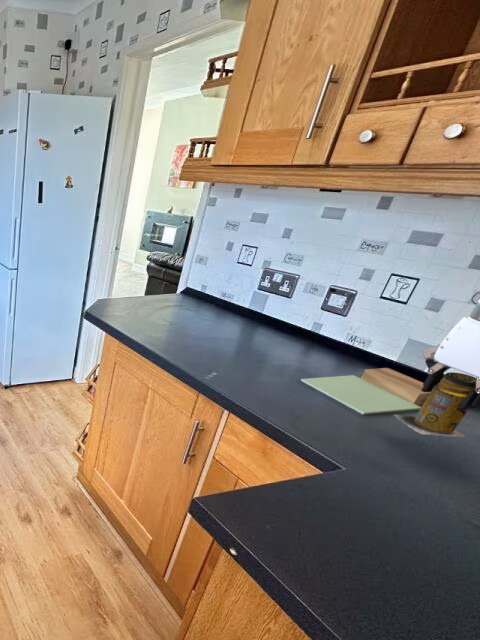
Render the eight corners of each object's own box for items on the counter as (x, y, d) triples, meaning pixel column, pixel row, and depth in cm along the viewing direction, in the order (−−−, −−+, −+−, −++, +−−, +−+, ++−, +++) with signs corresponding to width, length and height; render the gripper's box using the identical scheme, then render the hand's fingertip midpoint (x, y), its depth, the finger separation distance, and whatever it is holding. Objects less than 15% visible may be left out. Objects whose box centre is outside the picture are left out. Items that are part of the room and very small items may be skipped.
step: (381, 378, 121) (388, 367, 119) (436, 403, 109) (444, 391, 107) (359, 380, 120) (365, 369, 118) (412, 405, 108) (419, 393, 106)
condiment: (465, 437, 85) (500, 386, 79) (420, 434, 86) (452, 384, 80) (433, 418, 92) (464, 369, 86) (392, 416, 92) (419, 367, 87)
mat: (352, 376, 121) (353, 375, 121) (420, 409, 106) (422, 407, 106) (300, 380, 118) (301, 378, 118) (363, 414, 103) (364, 412, 103)
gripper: (585, 332, 70) (516, 420, 78) (461, 301, 84) (415, 378, 93) (550, 335, 68) (484, 424, 77) (431, 303, 83) (387, 381, 92)
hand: (447, 398), depth 85 cm, fingers closed on condiment, 6 cm apart
